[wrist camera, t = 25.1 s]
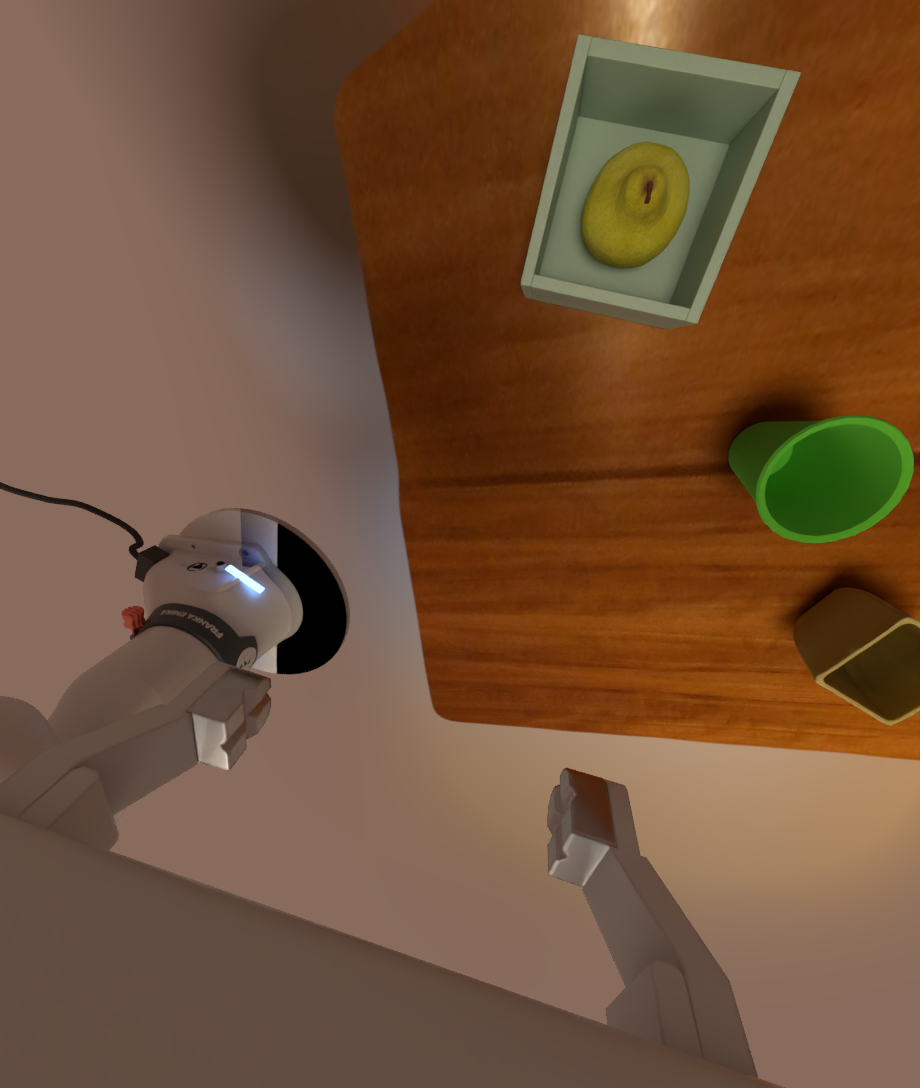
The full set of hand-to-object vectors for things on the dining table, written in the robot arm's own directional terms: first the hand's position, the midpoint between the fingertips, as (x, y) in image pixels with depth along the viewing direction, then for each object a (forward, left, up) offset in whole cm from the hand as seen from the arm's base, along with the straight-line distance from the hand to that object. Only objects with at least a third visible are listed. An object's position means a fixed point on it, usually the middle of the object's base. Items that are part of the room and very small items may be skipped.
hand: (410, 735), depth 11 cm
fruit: (+4, +20, -34) cm, 40 cm away
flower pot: (+37, -8, -35) cm, 52 cm away
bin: (+4, +20, -35) cm, 41 cm away
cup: (+22, +6, -35) cm, 42 cm away
